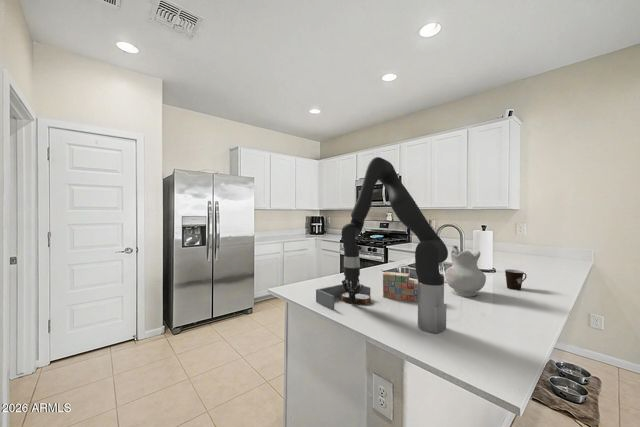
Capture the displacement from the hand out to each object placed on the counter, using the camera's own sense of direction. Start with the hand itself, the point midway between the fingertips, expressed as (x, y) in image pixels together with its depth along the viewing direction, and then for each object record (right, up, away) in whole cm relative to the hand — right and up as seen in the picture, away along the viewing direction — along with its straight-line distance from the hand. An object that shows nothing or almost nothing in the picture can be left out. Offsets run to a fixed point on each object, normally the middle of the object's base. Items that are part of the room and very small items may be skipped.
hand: (352, 302), depth 128 cm
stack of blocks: (+28, -1, +9) cm, 29 cm away
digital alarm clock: (+1, +1, +1) cm, 1 cm away
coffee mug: (+97, -1, +26) cm, 101 cm away
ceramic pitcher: (+62, -1, +18) cm, 65 cm away
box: (-4, -1, +5) cm, 7 cm away
